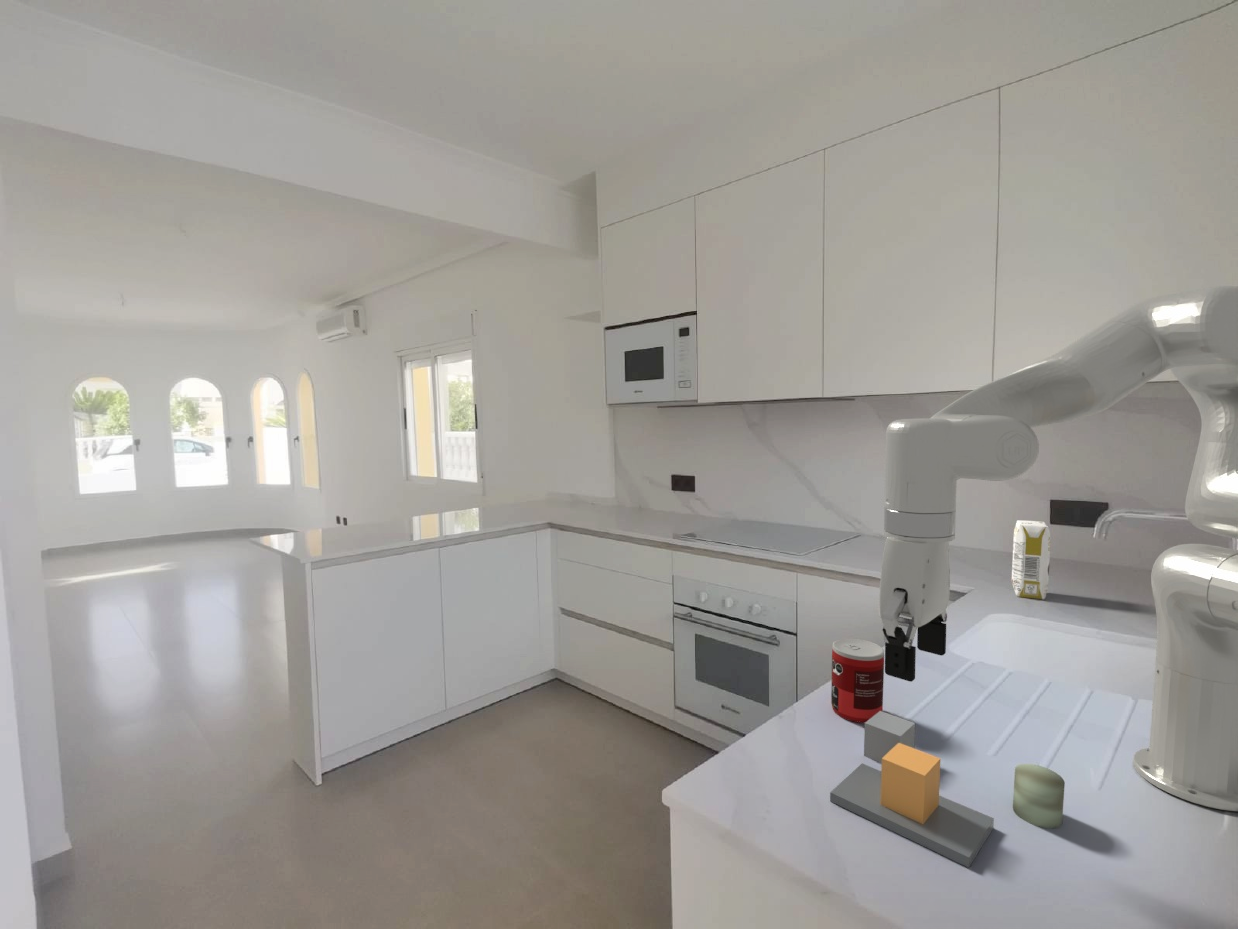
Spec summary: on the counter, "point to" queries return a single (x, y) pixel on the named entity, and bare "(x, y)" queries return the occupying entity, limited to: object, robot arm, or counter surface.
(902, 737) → the grey block
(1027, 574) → the juice carton
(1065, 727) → the counter surface
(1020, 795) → the sage cylinder
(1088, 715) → the counter surface
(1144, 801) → the counter surface
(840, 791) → the slate board
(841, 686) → the canned food
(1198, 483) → the robot arm
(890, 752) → the orange block
